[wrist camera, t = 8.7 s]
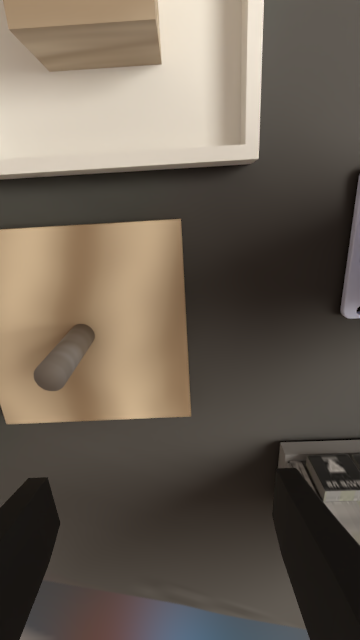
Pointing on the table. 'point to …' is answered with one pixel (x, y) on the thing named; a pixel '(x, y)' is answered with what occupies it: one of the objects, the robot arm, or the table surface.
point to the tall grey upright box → (330, 475)
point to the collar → (87, 32)
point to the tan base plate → (93, 322)
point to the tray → (139, 100)
